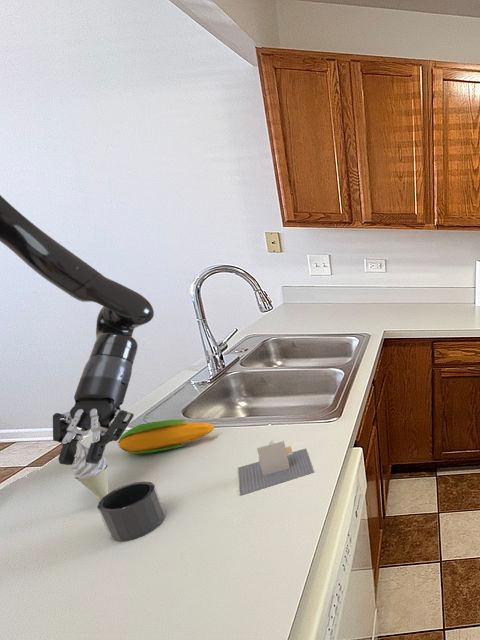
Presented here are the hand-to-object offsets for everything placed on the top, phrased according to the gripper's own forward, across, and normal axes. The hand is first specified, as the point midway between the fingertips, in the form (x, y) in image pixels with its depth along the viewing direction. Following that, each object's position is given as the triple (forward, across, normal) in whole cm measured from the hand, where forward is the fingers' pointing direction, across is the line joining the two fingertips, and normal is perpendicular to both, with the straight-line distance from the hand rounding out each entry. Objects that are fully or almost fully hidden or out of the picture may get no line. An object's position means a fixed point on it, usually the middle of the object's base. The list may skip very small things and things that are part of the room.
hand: (78, 463), depth 77 cm
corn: (-8, +1, +24) cm, 25 cm away
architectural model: (+1, +31, +15) cm, 35 cm away
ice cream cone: (+7, 0, +9) cm, 11 cm away
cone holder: (+12, +11, +4) cm, 17 cm away
